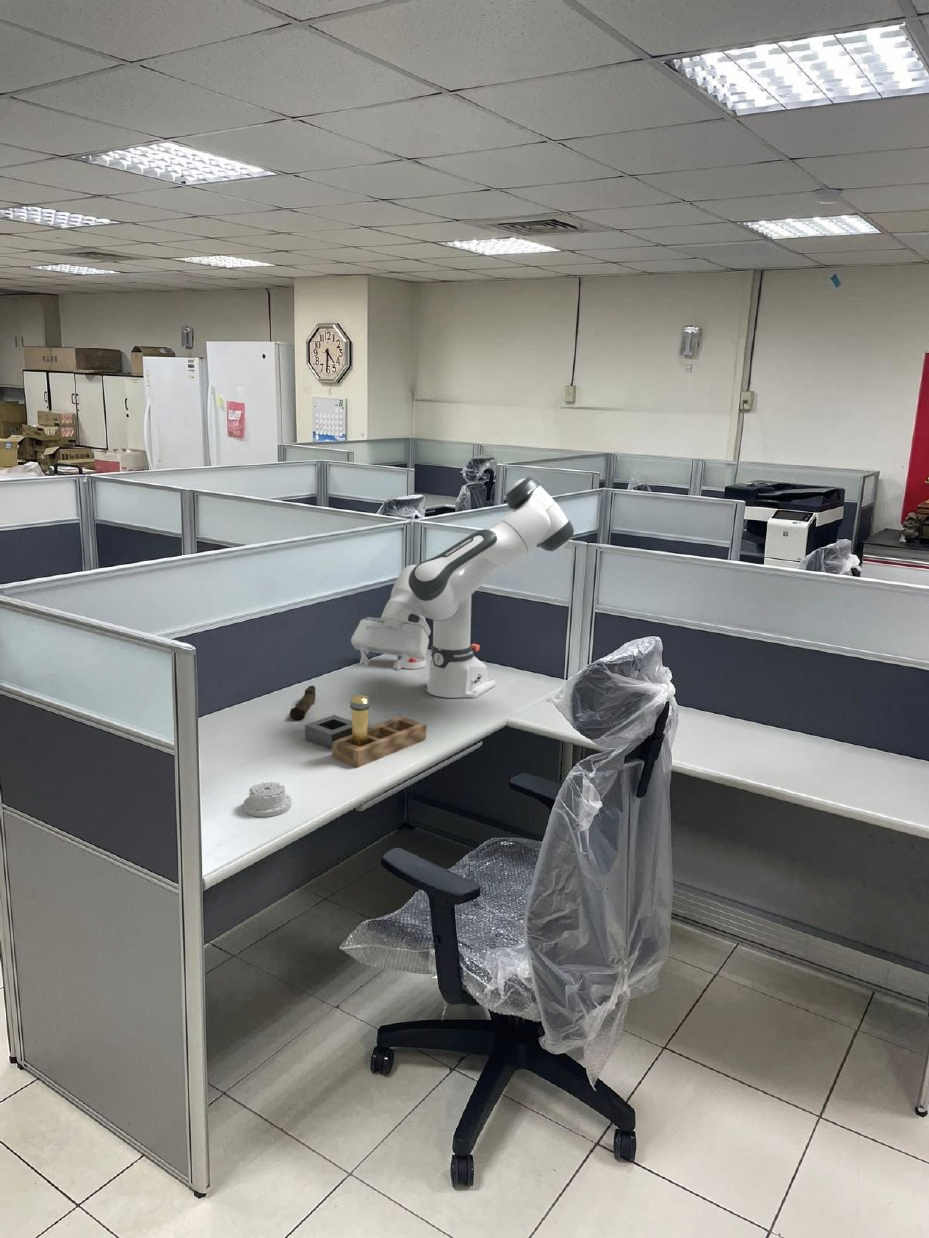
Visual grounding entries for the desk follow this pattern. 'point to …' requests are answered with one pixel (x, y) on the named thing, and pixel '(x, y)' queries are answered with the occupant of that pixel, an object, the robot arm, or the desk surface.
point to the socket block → (328, 730)
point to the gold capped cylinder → (359, 720)
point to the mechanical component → (267, 800)
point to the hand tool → (303, 704)
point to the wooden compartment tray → (380, 741)
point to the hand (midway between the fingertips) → (379, 667)
